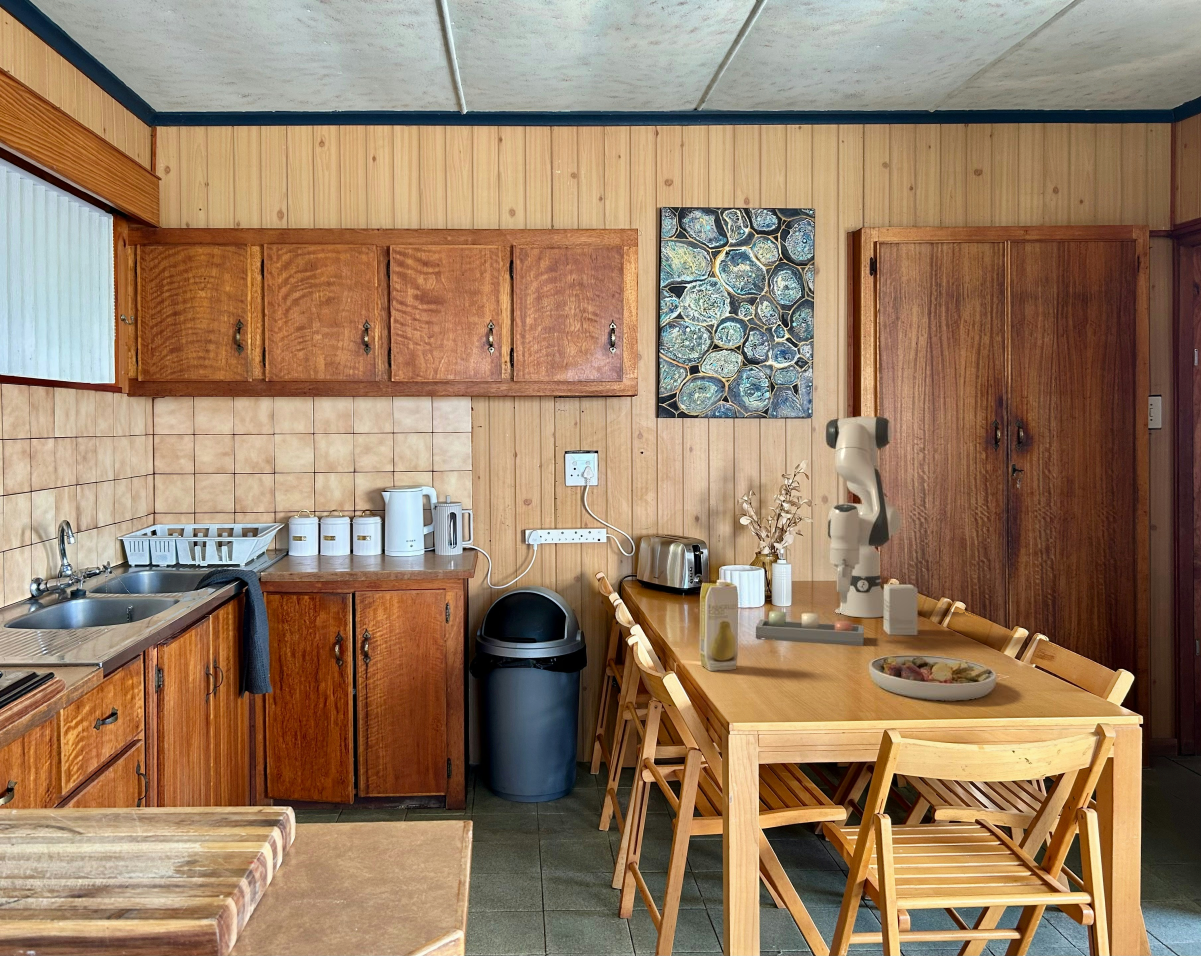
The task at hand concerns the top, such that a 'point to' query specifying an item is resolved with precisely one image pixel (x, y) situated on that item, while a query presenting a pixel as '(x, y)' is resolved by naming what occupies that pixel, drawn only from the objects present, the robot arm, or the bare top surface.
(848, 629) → the brick button
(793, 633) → the grey rectangular tray
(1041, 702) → the top surface
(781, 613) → the sage button
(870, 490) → the robot arm
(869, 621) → the top surface
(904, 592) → the supplement box
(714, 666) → the juice carton
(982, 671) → the bowl
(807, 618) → the cream round piece
